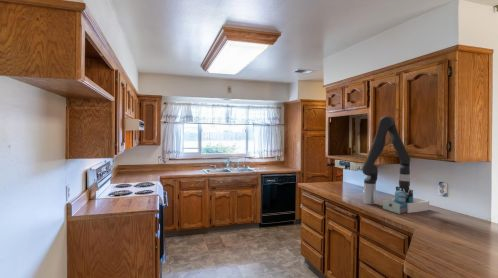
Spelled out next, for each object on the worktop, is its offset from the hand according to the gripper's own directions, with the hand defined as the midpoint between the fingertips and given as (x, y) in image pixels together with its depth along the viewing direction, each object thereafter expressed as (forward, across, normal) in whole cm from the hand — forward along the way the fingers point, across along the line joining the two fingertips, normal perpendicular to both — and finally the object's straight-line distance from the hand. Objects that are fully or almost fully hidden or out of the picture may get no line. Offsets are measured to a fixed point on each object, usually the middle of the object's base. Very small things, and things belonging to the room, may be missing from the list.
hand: (403, 201), depth 226 cm
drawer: (+7, 0, -3) cm, 7 cm away
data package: (+4, 0, 0) cm, 4 cm away
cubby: (+7, 0, +7) cm, 10 cm away
